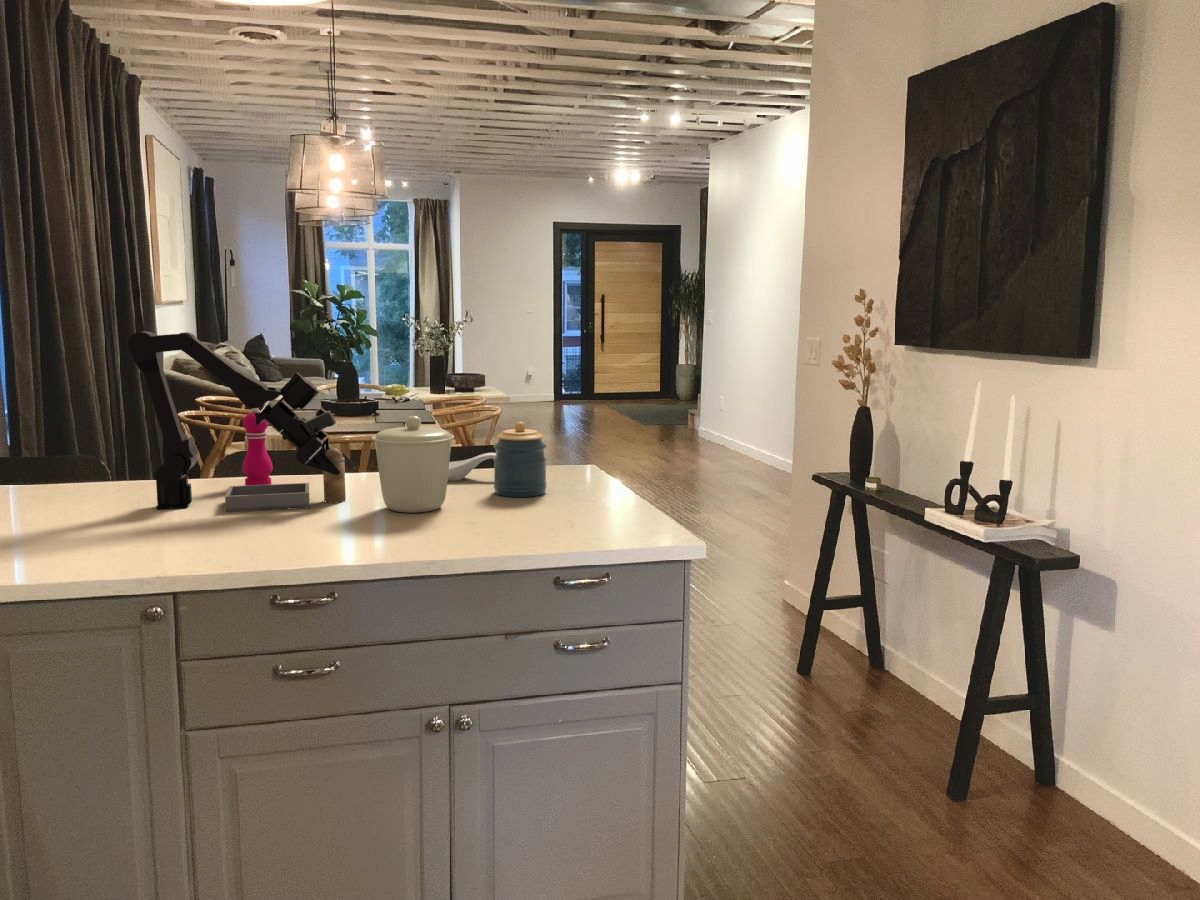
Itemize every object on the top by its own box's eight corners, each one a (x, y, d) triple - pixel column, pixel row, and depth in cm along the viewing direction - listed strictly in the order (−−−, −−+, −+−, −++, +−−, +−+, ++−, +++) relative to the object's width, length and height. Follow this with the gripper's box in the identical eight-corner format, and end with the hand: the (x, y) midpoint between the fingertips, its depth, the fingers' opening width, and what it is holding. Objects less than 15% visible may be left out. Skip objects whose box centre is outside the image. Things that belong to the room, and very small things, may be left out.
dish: (225, 512, 206) (225, 496, 206) (230, 501, 218) (229, 486, 218) (309, 508, 211) (309, 492, 211) (309, 497, 223) (308, 482, 223)
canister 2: (550, 488, 237) (550, 419, 235) (542, 498, 225) (542, 425, 222) (499, 487, 239) (499, 418, 236) (488, 497, 226) (488, 424, 223)
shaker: (324, 503, 217) (322, 450, 215) (323, 499, 221) (322, 446, 219) (346, 502, 218) (344, 449, 216) (345, 498, 223) (343, 446, 221)
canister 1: (437, 519, 202) (436, 421, 199) (359, 514, 205) (356, 419, 202) (466, 502, 219) (465, 412, 216) (393, 498, 223) (391, 410, 220)
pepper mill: (267, 488, 234) (263, 408, 231) (238, 487, 234) (234, 407, 231) (277, 482, 241) (274, 405, 238) (249, 482, 242) (246, 404, 239)
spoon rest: (423, 483, 244) (422, 456, 243) (432, 475, 256) (431, 449, 255) (513, 484, 244) (513, 457, 243) (518, 476, 256) (518, 450, 254)
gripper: (309, 403, 206) (363, 451, 210) (316, 395, 224) (365, 440, 228) (273, 439, 206) (327, 487, 210) (283, 428, 224) (333, 473, 228)
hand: (339, 470), depth 219 cm, fingers open, 9 cm apart
